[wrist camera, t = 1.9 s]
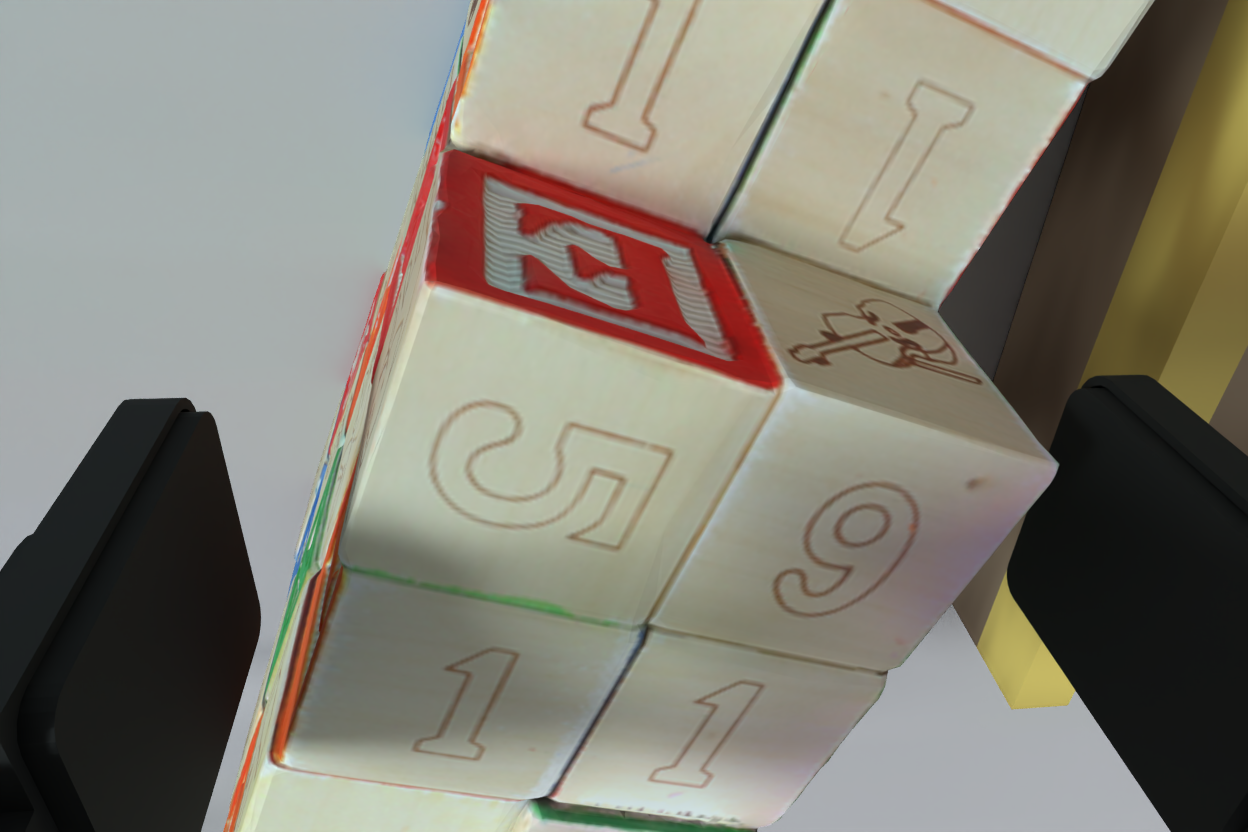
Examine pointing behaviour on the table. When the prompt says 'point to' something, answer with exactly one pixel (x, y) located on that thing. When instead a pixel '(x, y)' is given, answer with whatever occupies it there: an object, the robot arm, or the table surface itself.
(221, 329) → the table surface
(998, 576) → the dock
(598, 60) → the stack of blocks
